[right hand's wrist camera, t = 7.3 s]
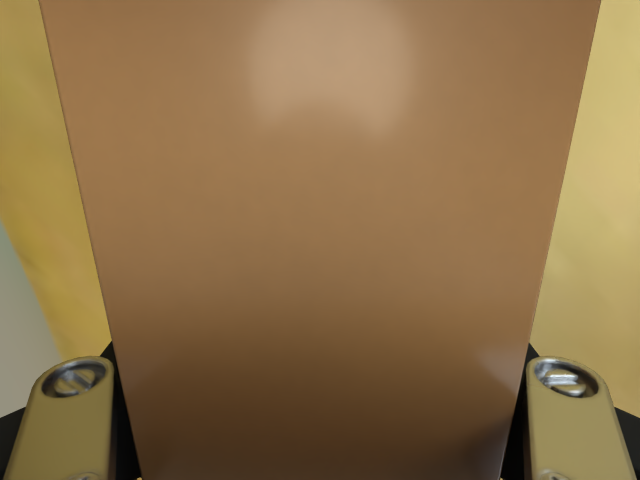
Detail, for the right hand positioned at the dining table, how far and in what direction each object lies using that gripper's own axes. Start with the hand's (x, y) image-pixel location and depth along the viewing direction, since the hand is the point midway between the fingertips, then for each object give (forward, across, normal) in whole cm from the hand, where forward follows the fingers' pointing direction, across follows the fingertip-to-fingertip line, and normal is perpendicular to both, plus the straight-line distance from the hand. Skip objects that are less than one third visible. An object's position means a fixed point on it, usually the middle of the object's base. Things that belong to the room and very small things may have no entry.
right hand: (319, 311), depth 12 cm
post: (+2, 0, +25) cm, 25 cm away
